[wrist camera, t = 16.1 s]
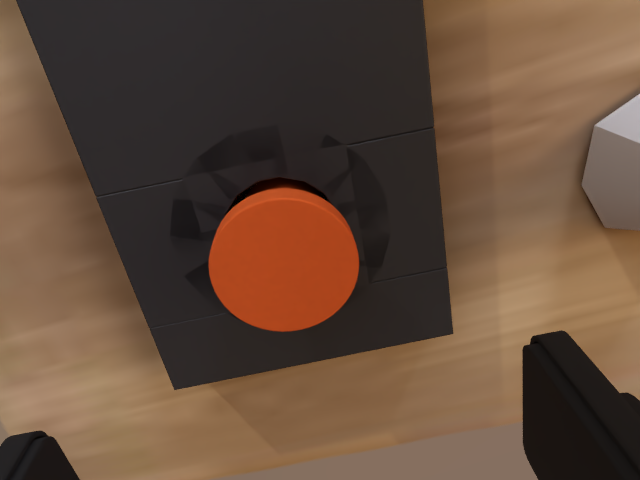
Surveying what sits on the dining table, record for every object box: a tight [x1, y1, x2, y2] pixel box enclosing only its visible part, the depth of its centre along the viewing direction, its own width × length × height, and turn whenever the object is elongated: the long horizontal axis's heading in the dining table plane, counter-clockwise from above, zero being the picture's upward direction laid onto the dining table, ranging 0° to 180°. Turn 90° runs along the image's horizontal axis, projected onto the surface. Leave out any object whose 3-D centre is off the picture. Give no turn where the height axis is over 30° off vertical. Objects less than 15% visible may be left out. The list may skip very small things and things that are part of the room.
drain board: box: [16, 0, 453, 390], centre depth 20 cm, size 24×14×2 cm, turn 11°
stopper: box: [209, 177, 359, 332], centre depth 21 cm, size 6×6×6 cm
